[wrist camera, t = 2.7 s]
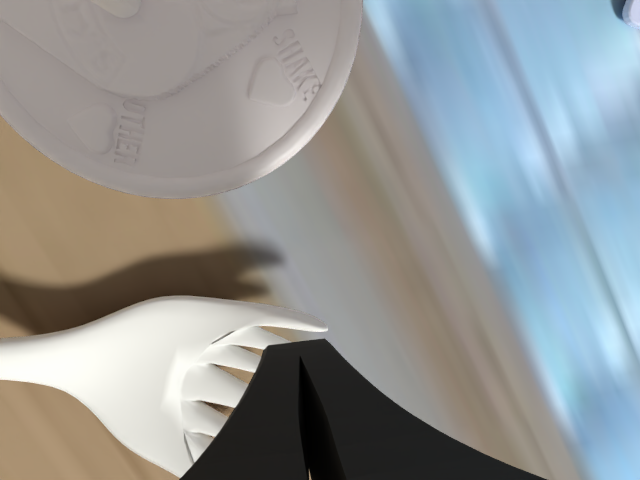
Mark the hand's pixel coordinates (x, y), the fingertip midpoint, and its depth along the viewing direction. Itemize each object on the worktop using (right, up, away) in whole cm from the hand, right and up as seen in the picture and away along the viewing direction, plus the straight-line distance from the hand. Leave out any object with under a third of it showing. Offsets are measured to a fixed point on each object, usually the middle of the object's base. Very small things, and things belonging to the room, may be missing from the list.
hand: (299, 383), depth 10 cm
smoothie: (-3, +9, +6) cm, 12 cm away
